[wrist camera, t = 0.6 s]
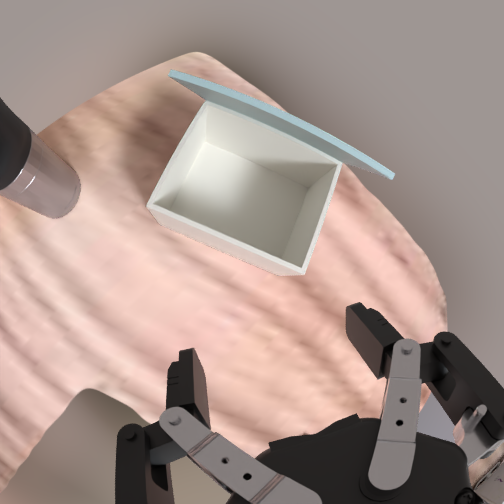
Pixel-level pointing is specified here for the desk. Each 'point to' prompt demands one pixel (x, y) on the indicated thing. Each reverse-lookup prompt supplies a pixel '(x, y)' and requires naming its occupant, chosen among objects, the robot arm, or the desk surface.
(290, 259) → the carton
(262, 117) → the lid flap
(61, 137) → the desk surface
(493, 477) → the network device
